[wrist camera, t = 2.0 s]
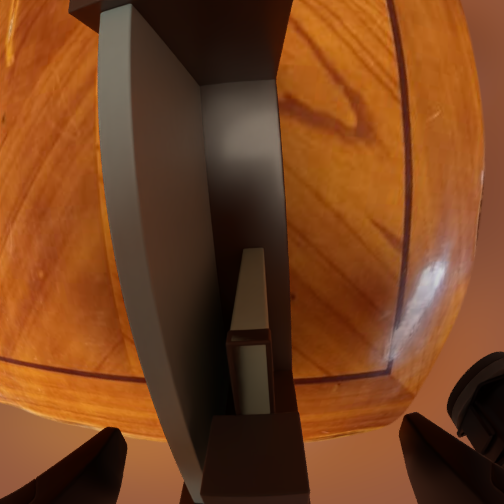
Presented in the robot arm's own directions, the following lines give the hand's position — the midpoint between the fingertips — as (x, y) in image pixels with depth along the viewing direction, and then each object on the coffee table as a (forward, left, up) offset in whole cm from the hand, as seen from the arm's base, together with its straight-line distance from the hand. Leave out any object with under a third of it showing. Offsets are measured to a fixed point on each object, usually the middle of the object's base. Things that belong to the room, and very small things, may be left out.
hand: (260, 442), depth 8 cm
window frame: (+1, -4, -10) cm, 11 cm away
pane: (0, 0, -9) cm, 9 cm away
